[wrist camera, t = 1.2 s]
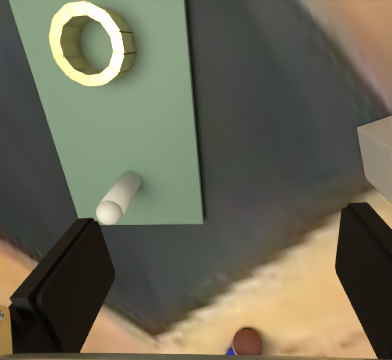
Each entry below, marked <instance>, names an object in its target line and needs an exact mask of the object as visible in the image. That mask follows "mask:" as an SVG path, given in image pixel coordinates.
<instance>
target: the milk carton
mask: <svg viewBox="0 0 392 360" xmlns="http://www.w3.org/2000/svg"><path fill="white" fill-rule="evenodd" d="M357 133H358V139H359V145H360V150H361V156H362V161H363V167H364V173H365V177H366V179H367V180H368V181H369V182H370V183H371V184H372V185H373V186H374V187H375V188H376V189H377V190H378V191H379V192H380V193H381V194H382V195H383V196H384V197H385V198H387V199H388V200H389V201H390V202H391V203H392V116H389V117H386V118H383V119H380V120H377V121H374V122H371V123H368V124H365V125H362V126H359V127H357Z"/></svg>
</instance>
